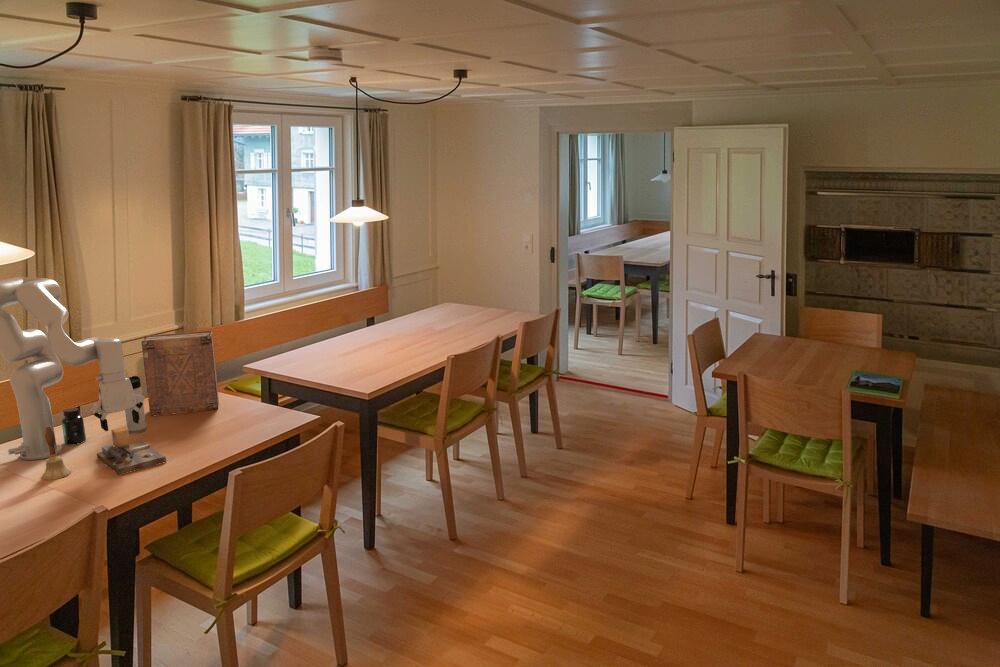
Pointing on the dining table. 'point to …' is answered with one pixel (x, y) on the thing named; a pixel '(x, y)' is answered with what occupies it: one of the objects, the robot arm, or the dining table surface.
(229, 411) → the dining table surface
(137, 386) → the travel mug
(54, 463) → the hand bell
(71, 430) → the supplement bottle
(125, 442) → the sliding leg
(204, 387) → the book
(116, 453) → the gauge plate
